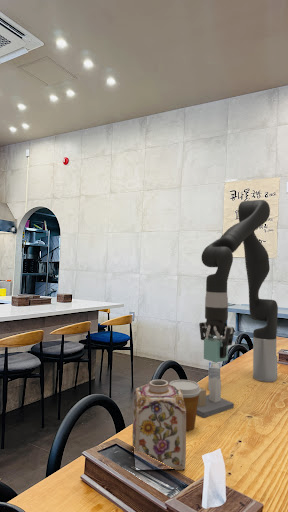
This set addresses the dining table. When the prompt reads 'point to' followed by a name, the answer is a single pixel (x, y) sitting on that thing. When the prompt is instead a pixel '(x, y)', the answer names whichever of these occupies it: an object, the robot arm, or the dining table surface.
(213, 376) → the medicine box
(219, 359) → the sage green cube
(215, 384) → the post stand
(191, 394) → the disposable coffee cup
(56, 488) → the dining table surface
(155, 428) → the decorative jar
